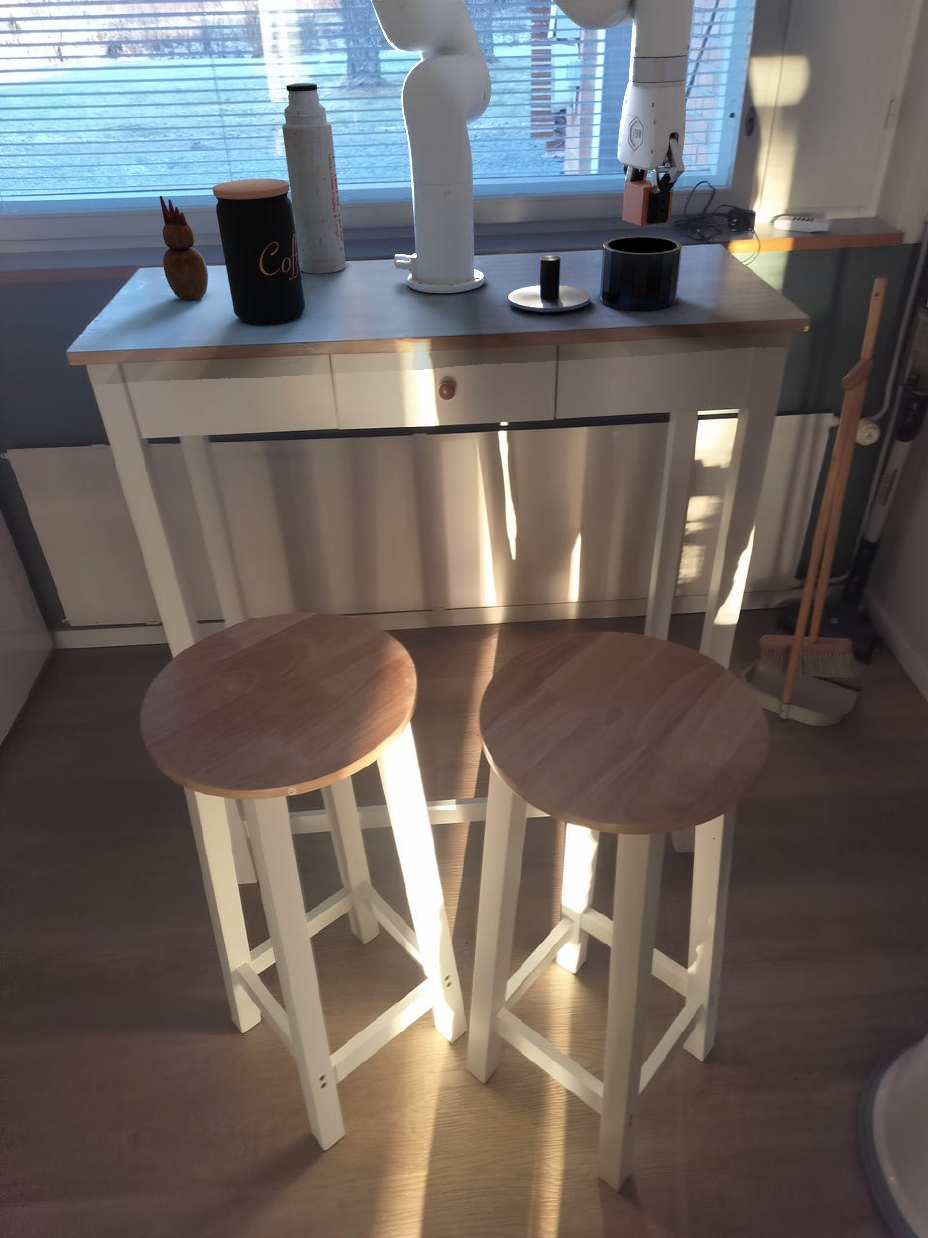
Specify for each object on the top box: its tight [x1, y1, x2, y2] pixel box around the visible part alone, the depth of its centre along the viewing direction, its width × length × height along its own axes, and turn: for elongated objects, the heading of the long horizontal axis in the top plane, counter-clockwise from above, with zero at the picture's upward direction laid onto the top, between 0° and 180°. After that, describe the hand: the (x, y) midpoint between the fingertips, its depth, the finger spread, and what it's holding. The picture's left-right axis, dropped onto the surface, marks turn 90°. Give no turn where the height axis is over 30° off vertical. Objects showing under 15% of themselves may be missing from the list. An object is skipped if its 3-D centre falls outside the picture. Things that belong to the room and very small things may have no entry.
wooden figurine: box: [159, 195, 209, 301], centre depth 137 cm, size 7×6×15 cm
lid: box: [508, 255, 591, 313], centre depth 131 cm, size 12×12×7 cm
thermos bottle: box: [281, 82, 347, 274], centre depth 146 cm, size 8×8×28 cm
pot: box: [599, 235, 683, 312], centre depth 131 cm, size 11×12×8 cm
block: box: [621, 178, 674, 227], centre depth 125 cm, size 5×5×5 cm
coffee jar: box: [212, 178, 306, 326], centre depth 126 cm, size 11×11×18 cm
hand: (646, 217), depth 126 cm, fingers closed on block, 5 cm apart
